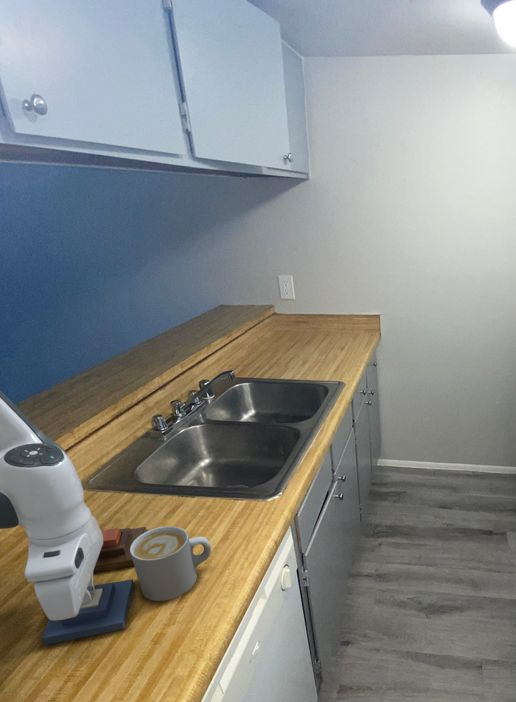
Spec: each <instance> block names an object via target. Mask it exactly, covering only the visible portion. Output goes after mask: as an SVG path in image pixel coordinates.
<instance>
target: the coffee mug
mask: <svg viewBox="0 0 516 702" xmlns="http://www.w3.org/2000/svg"><path fill="white" fill-rule="evenodd" d="M198 545H201V546H202V548H203V551H202V552H201V553H200V554H195V553H194V548H195V547H196V546H198ZM130 553H131V557H132V560H133V563H134V566H133V567H134V570H135V573H136V577H137V580H138V583H139V586H140V590H141V593H142V595H143V596H144V598H146V599H148V600H150V601H155V602H164V601H169V600H174V599H176V598H179V597H181V596H182V595H184V594H186V593H187V592H188V591H189V590H191V589H192V588H193V586H194V585H195V583H196V581H197V579H198V575H197V567H198V566H200V565H202V564H203V563H204V562H206V561H207V560H208V559H209V558H210V556H211V554H212V547H211V544H210V542H209V539H208V538H206V537H204V536H200V535H199V536H194V537H191V538H190V537H189V533H188V532H187V531H186V530H185V529H184V528H182V527H178V526H174V525H173V526H171V525H169V526H159V527H156V528H152V529H150V530H147V532H145V533H143V534H142V535H140V536H139V537H138V538H136V539H135V540H134V542H133V543H132V545H131V547H130Z"/></svg>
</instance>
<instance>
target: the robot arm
mask: <svg viewBox="0 0 516 702" xmlns="http://www.w3.org/2000/svg"><path fill="white" fill-rule="evenodd" d="M82 484H83V483H82V482H81V479H80V477H79V474H78V472H77V469H76V467H75V465H74V464H73V462H72V460H71V458H70V457H69V455H68V454H67V452H66V451H65V449H64V448H63V447H62V446H61V445H59V444H58V443H57V442H56V441H55V440H53V439H52V438H51V437H49V436H48V435H46V434H45V433H44V432H43V431H41V429H39V428H38V427H37V426H36V425H35V424H34V423H33V422H32V421H31V420H30V419H29V417H27V416H26V414H24V413H23V412H22V410H20V408H19V407H18V406H16V405H15V404H14V402H13V401H11V400H10V399H9V398H8V396H6V395H5V394H4V392H3V391H2V390H0V530H7V529H13V528H16V527H19V526H20V527H22V528H24V530H25V533H26V534H25V535H26V536H27V538H28V545H27V546H28V547H27V548H28V554H27V559H26V560H27V561H26V565H25V569H24V577H25V580H26V581H27V582H28V583H33V585H34V592H35V595H36V598H37V601H38V603H39V605H40V607H41V608H42V611H43V612H44V615H45V616H46V617H47V619H48V620H49V619H50V620H53V621H58V620H64V619H68V618H73V617H76V616H77V615H78V612H79V609H80V607H81V604H88V603H91V601H92V598H93V595H94V592H95V588H94V585H95V584H94V573H93V570H94V568H95V565H96V562H97V559H98V557H99V554H100V551H101V548H102V545H103V535H102V532H101V528H100V526H99V523H98V521H97V519H96V517H95V516H94V515H92V512H91V509H90V508H89V506H88V505H87V504H86V503H85V491H84V487H83V485H82Z"/></svg>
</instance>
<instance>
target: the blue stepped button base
mask: <svg viewBox="0 0 516 702" xmlns="http://www.w3.org/2000/svg"><path fill="white" fill-rule="evenodd" d="M93 585H94V588H95V590H96V589H102V588H103V591H104V592H103V596H102V599H101V602H100V605H99V606H96V607H91V608H85V609H80V610H79V612H78V615H77V616H76V617H73V618H68V619H64V620H58V621H53V620H50V619H48V622H47V624H46V627H45V629H44V630H43V633H42V636H41V638H40V639H41V641H42V643H43V645H44V646H48V645H53V644H58V643H63V642H68V641H71V640H72V641H73V640H78V639H82V638H87V637H92V636H96V635H103V634H108V633H113V632H116V631H117V632H118V631H122V630H125V627H126V623H127V618H128V616H129V610H130V607H131V602H132V598H133V594H134V591H135V590H134V589H135V582H134V579H133V578H131V579H126V580H120V581H112V582H107V583H100V584H93Z"/></svg>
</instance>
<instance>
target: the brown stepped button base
mask: <svg viewBox="0 0 516 702" xmlns="http://www.w3.org/2000/svg"><path fill="white" fill-rule="evenodd" d="M147 531H148V529H147V527H146V526H141V527H136V528H130V527H125V528H120V532H121V537H120V540H119V543H118V545H117V546H110V547H104V548H101V551H100V554H99V557H98V559H97V562H96V565H95V568H94V570H93V574H94V573H101V572H106V571H112V570H118V569H123V568H131V567H134V563H133V560H132V557H131V553H130V547H131V545H132V543H133V542H134V540H135V539H136V538H138V537H139V536H140V535H142V534H143V533H145V532H147Z"/></svg>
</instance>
